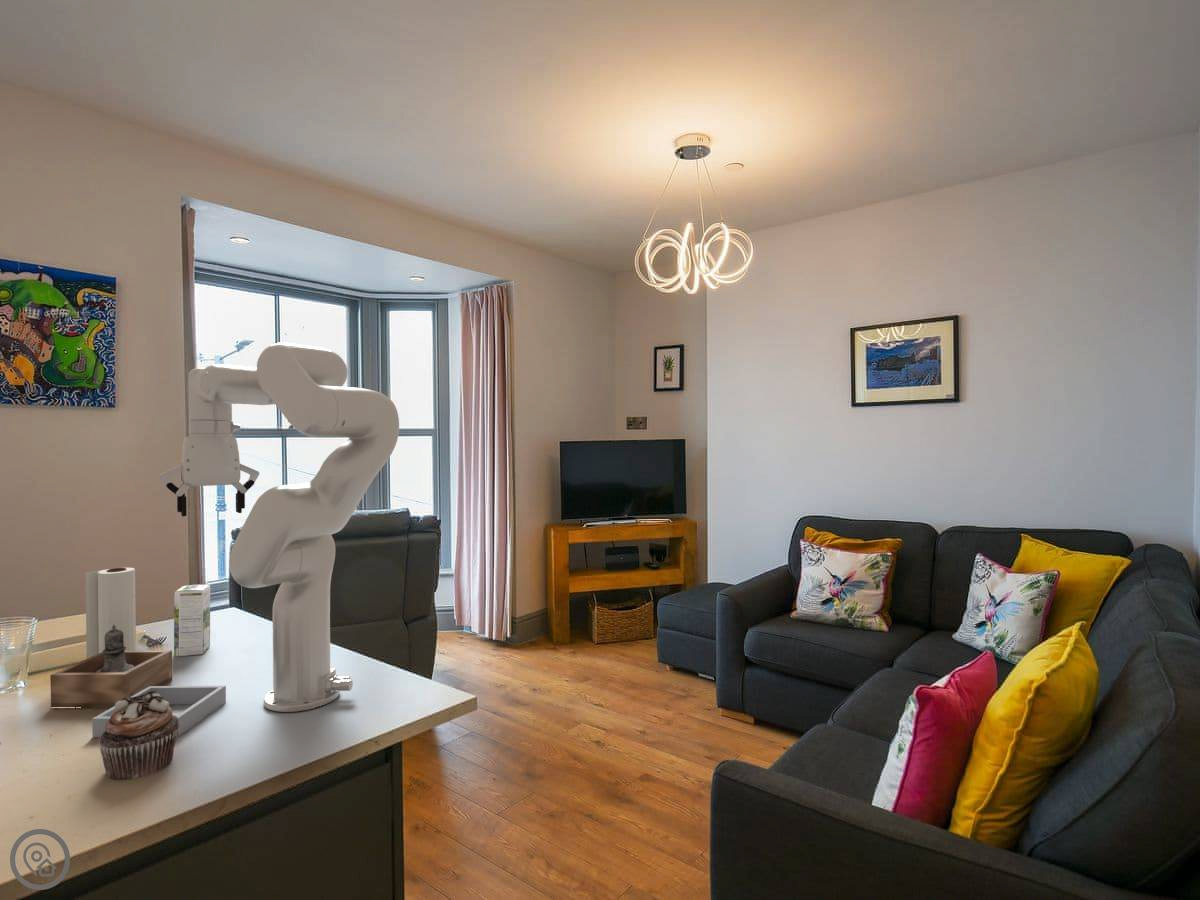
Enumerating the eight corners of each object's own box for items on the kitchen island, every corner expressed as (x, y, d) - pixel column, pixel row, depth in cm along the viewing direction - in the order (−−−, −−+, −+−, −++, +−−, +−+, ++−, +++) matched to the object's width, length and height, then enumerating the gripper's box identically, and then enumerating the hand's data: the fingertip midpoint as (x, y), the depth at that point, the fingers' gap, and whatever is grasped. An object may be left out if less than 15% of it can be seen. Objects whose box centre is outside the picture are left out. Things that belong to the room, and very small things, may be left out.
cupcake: (86, 771, 93) (85, 702, 93) (159, 744, 102) (159, 680, 102) (118, 790, 89) (117, 717, 88) (193, 759, 97) (192, 693, 97)
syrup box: (181, 649, 148) (180, 585, 147) (211, 646, 149) (210, 583, 149) (173, 657, 142) (172, 591, 142) (204, 654, 144) (203, 589, 144)
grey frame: (225, 702, 118) (225, 685, 118) (178, 736, 104) (178, 717, 104) (149, 702, 118) (149, 686, 118) (92, 737, 104) (92, 718, 104)
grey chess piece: (114, 696, 118) (112, 630, 118) (87, 693, 119) (85, 628, 119) (142, 683, 124) (141, 621, 124) (116, 681, 125) (114, 619, 125)
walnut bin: (172, 680, 128) (172, 650, 128) (125, 708, 115) (125, 674, 115) (105, 681, 128) (105, 650, 128) (50, 708, 115) (50, 674, 115)
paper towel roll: (143, 671, 134) (142, 567, 133) (115, 681, 128) (113, 573, 127) (116, 668, 135) (114, 565, 135) (86, 678, 130) (85, 571, 129)
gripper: (255, 430, 140) (256, 509, 140) (158, 429, 130) (159, 515, 130) (261, 429, 134) (262, 512, 134) (160, 429, 124) (161, 519, 124)
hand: (211, 514), depth 132 cm, fingers open, 9 cm apart
